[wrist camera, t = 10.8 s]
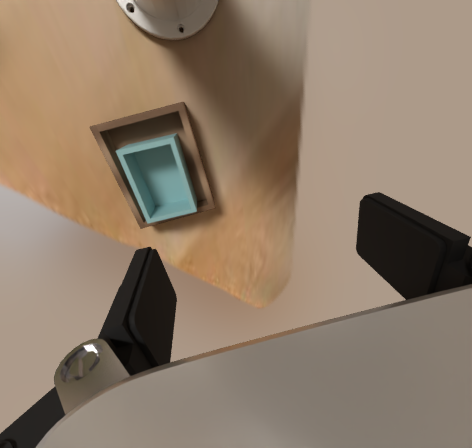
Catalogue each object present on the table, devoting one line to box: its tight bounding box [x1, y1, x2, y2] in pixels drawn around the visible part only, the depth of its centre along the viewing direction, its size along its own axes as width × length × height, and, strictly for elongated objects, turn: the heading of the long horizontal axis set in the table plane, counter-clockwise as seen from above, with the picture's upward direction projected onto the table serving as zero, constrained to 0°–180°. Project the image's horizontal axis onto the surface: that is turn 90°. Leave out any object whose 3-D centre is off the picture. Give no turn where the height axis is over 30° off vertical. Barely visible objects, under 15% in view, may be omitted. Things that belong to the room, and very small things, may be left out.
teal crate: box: [116, 133, 197, 224], centre depth 32 cm, size 10×7×5 cm
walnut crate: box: [90, 102, 215, 229], centre depth 33 cm, size 15×12×4 cm
